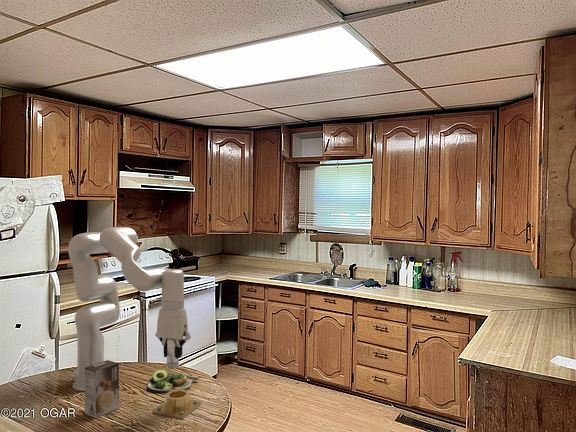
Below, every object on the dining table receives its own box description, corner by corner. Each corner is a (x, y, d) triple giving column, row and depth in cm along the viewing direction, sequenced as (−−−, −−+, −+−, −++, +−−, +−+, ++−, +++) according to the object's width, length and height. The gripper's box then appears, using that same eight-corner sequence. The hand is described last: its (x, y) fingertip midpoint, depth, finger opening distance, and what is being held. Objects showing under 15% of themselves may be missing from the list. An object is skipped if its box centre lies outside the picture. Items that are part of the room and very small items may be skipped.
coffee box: (107, 403, 155) (108, 359, 155) (119, 408, 152) (119, 362, 152) (83, 413, 147) (84, 366, 147) (95, 419, 144) (96, 370, 144)
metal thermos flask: (164, 368, 152) (164, 333, 152) (171, 364, 156) (171, 330, 156) (174, 369, 151) (174, 335, 150) (181, 365, 154) (181, 331, 154)
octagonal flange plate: (152, 413, 149) (152, 398, 149) (172, 398, 160) (172, 385, 160) (182, 419, 145) (183, 404, 145) (201, 404, 156) (201, 390, 156)
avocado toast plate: (200, 375, 184) (200, 364, 184) (196, 393, 166) (197, 381, 166) (153, 376, 182) (153, 365, 182) (144, 394, 164) (144, 382, 164)
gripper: (146, 305, 152) (146, 357, 152) (187, 308, 147) (187, 363, 147) (159, 301, 159) (159, 351, 159) (199, 304, 154) (199, 356, 154)
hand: (172, 356), depth 153 cm, fingers closed on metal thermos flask, 4 cm apart
